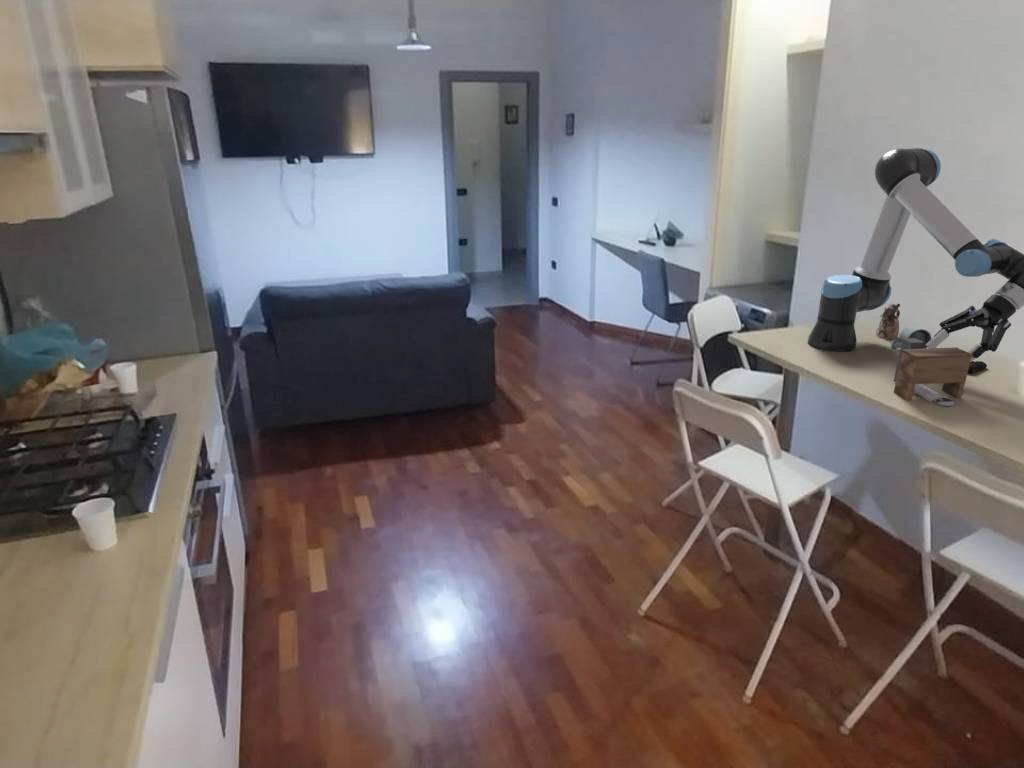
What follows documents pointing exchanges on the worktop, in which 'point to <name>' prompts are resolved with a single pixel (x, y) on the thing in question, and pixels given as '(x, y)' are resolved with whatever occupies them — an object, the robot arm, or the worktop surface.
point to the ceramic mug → (912, 336)
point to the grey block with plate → (919, 389)
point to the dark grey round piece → (944, 402)
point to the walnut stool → (932, 370)
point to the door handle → (976, 366)
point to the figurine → (889, 322)
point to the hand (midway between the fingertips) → (944, 355)
